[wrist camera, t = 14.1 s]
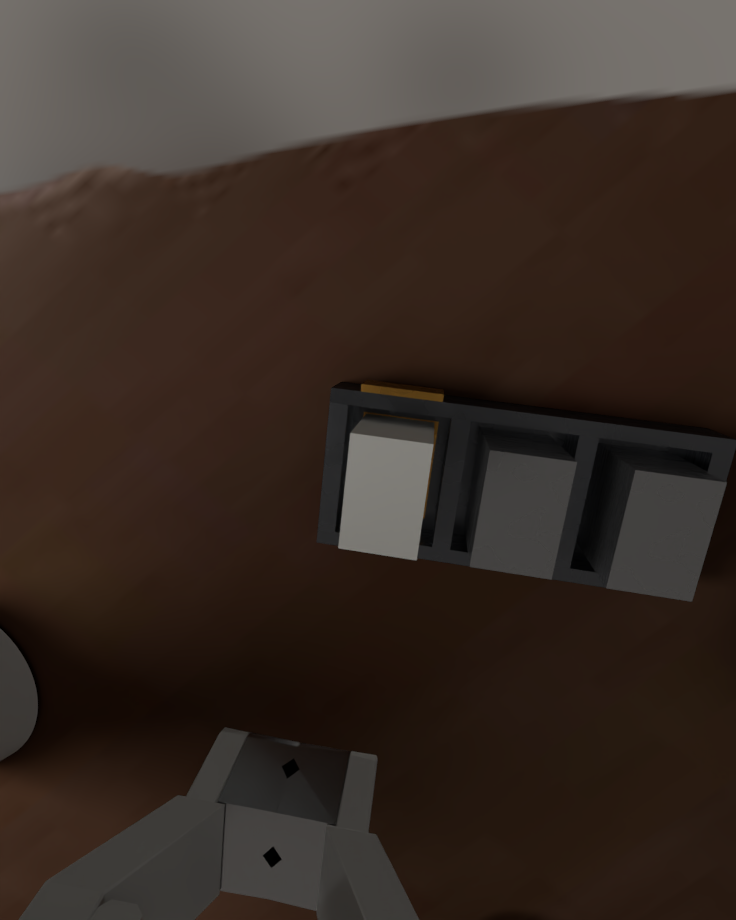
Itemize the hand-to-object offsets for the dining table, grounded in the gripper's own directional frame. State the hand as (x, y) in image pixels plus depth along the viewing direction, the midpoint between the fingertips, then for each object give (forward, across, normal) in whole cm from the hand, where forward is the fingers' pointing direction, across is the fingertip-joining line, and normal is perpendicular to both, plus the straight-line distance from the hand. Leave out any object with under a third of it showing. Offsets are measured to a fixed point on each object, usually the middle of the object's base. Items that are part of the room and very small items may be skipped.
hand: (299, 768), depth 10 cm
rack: (+23, +7, 0) cm, 24 cm away
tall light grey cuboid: (+23, 0, 0) cm, 23 cm away
